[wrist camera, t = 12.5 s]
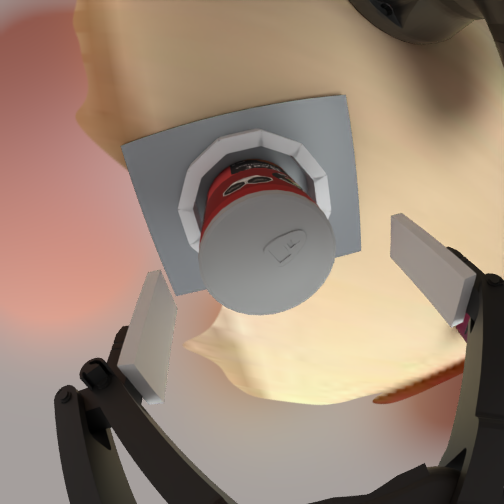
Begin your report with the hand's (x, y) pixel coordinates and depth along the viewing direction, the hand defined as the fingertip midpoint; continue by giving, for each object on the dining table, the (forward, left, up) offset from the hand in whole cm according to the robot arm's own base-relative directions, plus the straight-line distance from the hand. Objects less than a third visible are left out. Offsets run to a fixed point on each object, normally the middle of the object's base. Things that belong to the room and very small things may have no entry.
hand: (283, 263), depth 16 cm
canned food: (0, -1, -12) cm, 12 cm away
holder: (0, 0, -13) cm, 13 cm away
